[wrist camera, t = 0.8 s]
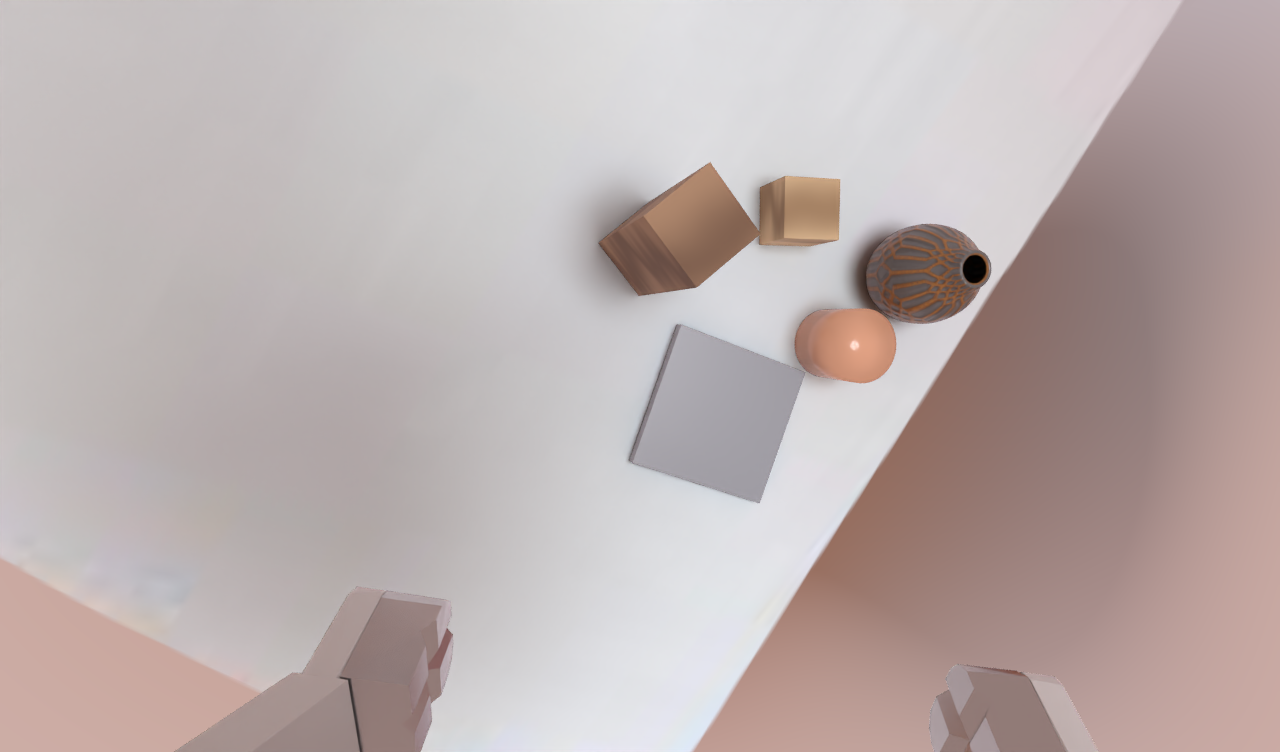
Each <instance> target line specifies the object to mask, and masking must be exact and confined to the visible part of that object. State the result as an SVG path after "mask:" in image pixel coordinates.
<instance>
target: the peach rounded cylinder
mask: <svg viewBox="0 0 1280 752" xmlns="http://www.w3.org/2000/svg"><path fill="white" fill-rule="evenodd" d="M795 352H796V356H797V358H798V360H799V362H800V364H801V365H802V367H803V368H804V369H805V370H806V371H808V372H809V373H811V374H813V375H815V376H819V377H825V378H831V379H837V380H843V381H849V382H856V383H868V382H871V381H874V380H876V379H878V378H879V377H881V376H882V375H883V374H884V373H885V372H886V371H887V370H888V369H889V367H890V365H891V364H892V362H893V359H894V356H895V352H896V337H895V333H894V330H893V327H892V325H891V324H890V322H889V321H888V320H887V318H886V317H885V316H883V315H882V314H881V313H879V312H877V311H875V310H872V309H826V310H819V311H816V312H814V313H812V314H810V315H809V316H807V317H806V318H805V319H804V320H803V322H802V323H801V324H800V326H799V328H798V330H797V333H796V337H795Z"/></svg>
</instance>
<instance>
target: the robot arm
mask: <svg viewBox="0 0 1280 752" xmlns="http://www.w3.org/2000/svg"><path fill="white" fill-rule="evenodd" d="M451 616H452V614H451V604H450V601H448V600H444V599H437V598H431V597H424V596H418V595H411V594H405V593H398V592H392V591H384V590H377V589H370V588H363V587H356V588H355V589H354V590H353V591H352V592H350V593H349V594H348V596H347V597H346V599H345V601H344V602H343V604H342V606H341V608H340V609H339V611H338V613H337V614H336V616H335V618H334V620H333V621H332V623H331V625H330V626H329V628H328V630H327V632H326V633H325V635H324V637H323V638H322V640H321V642H320V644H319V645H318V647H317V649H316V650H315V652H314V654H313V655H312V657H311V659H310V661H309V662H308V664H307V666H306V667H305V669H304V671H303V673H293V672H292V673H291V674H289V675H288V676H286V677H285V678H284V679H282V680H281V681H279V682H278V683H276V684H275V685H273V686H272V687H270V688H269V689H267V690H266V691H264V692H263V693H261V694H260V695H258V696H257V697H255V698H254V699H252V700H251V701H249V702H248V703H246V704H245V705H243V706H242V707H240V708H239V709H237V710H236V711H234V712H233V713H231V714H230V715H228V716H227V717H225V718H224V719H222V720H221V721H219V722H218V723H216V724H215V725H213V726H212V727H210V728H209V729H207V730H206V731H204V732H203V733H201V734H200V735H198V736H197V737H195V738H194V739H192V740H191V741H189V742H188V743H186V744H185V745H184V746H182V747H180V748H179V749H177V750H176V751H174V752H421V749H422V746H423V744H424V741H425V738H426V735H427V733H428V730H429V727H430V725H431V722H432V715H431V703H432V702H433V701H434V700H435V699H437V698H438V697H439V696H440V695H441V694H442V692H443V689H444V686H445V683H446V680H447V677H448V672H449V668H450V664H451V659H452V650H453V634H452V633H451V632H450V631H449V630H448V629H447V626H448V623H449V621H450V618H451ZM946 681H947V684H948V687H949V690H947V691H945V692H944V693H942V694H940V695H938V696H937V697H936V699H935V701H934V703H933V706H932V708H931V712H930V725H929V729H930V735H931V743H932V746H933V749H934V752H1099V751H1098V749H1097V747H1096V745H1095V743H1094V742H1093V740H1092V738H1091V736H1090V734H1089V732H1088V731H1087V729H1086V727H1085V725H1084V723H1083V721H1082V720H1081V718H1080V716H1079V714H1078V712H1077V711H1076V709H1075V707H1074V705H1073V703H1072V701H1071V699H1070V698H1069V696H1068V694H1067V692H1066V690H1065V689H1064V687H1063V685H1062V684H1061V682H1060V681H1059V680H1057V678H1056V677H1055V676H1049V675H1041V674H1033V673H1025V672H1018V671H1014V670H1005V669H996V668H988V667H979V666H970V665H961V664H957V665H955V666H954V667H952V668H951V669H950V671H949V673H948V675H947V677H946Z"/></svg>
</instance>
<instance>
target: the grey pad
mask: <svg viewBox="0 0 1280 752" xmlns="http://www.w3.org/2000/svg"><path fill="white" fill-rule="evenodd" d="M804 375H805V372H803V371H801V370H798V369H796V368H793V367H790V366H788V365H785V364H783V363H780V362H777V361H775V360H772V359H769V358H767V357H764V356H762V355H759V354H756V353H754V352H751V351H749V350H746V349H743V348H741V347H738V346H736V345H733V344H730V343H728V342H725V341H723V340H720V339H717V338H715V337H712V336H710V335H707V334H704V333H702V332H699V331H697V330H694V329H691V328H689V327H686V326H684V325H677V326H676V329H675V332H674V335H673V338H672V340H671V343H670V346H669V349H668V352H667V355H666V357H665V360H664V363H663V366H662V369H661V372H660V374H659V377H658V380H657V383H656V386H655V389H654V391H653V394H652V397H651V400H650V403H649V406H648V408H647V411H646V414H645V417H644V420H643V423H642V425H641V428H640V431H639V434H638V437H637V440H636V442H635V445H634V448H633V451H632V454H631V457H630V459H629V460H630V461H631V462H632V463H634V464H637V465H641V466H644V467H647V468H650V469H653V470H656V471H659V472H663V473H666V474H669V475H672V476H675V477H678V478H681V479H685V480H688V481H691V482H694V483H697V484H700V485H703V486H707V487H710V488H713V489H716V490H719V491H722V492H725V493H729V494H732V495H735V496H738V497H741V498H744V499H748V500H751V501H754V502H757V503H760V500H761V498H762V495H763V492H764V489H765V486H766V483H767V481H768V478H769V475H770V472H771V469H772V466H773V463H774V461H775V458H776V455H777V452H778V449H779V446H780V443H781V441H782V438H783V435H784V432H785V429H786V426H787V424H788V421H789V418H790V415H791V412H792V409H793V406H794V404H795V401H796V398H797V395H798V392H799V389H800V386H801V384H802V381H803V378H804Z"/></svg>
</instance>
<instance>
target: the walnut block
mask: <svg viewBox="0 0 1280 752" xmlns="http://www.w3.org/2000/svg"><path fill="white" fill-rule="evenodd" d="M759 235H760V232H759V231H758V230H757V228H756V227H755V225H754V224H753V222H752V221H751V220H750V218H749V217H748V215H747V214H746V212H745V211H744V210H743V208H742V207H741V205H740V204H739V203H738V201H737V200H736V198H735V197H734V195H733V194H732V193H731V191H730V190H729V188H728V187H727V185H726V184H725V183H724V181H723V180H722V178H721V177H720V176H719V174H718V173H717V171H716V170H715V168H714V167H713V166H712V164H711V163H708V164H707V165H705V166H704V167H702V168H701V169H699V170H698V171H696V172H694V173H693V174H691V175H690V176H688V177H687V178H685V179H684V180H682V181H681V182H679V183H678V184H676V185H675V186H673V187H671V188H670V189H668V190H667V191H665V192H664V193H662V194H661V195H659V196H658V197H656V198H655V199H653V200H652V201H650V202H649V203H647V204H646V205H645V206H644V207H642V208H641V209H640V210H639V211H637V212H636V213H635V214H634V215H632V216H631V217H630V218H629V219H627V220H626V221H625V222H624V223H622V224H621V225H620V226H619V227H617V228H616V229H615V230H614V231H612V232H611V233H610V234H609V235H608V236H606V237H605V238H604V239H603V240H601V241H600V242H599V245H600V246H601V247H602V248H603V250H604V251H605V252H606V254H607V255H608V256H609V258H610V259H611V260H612V261H613V263H614V264H615V265H616V267H617V268H618V269H619V270H620V272H621V273H622V274H623V276H624V277H625V278H626V280H627V281H628V282H629V283H630V285H631V286H632V287H633V289H634V290H635V291H636V293H637V294H638V295H639V296H642V295H649V294H655V293H662V292H669V291H676V290H683V289H689V288H696V287H698V286H699V285H700V284H701V283H703V282H704V281H705V280H706V279H707V278H709V277H710V276H711V275H712V274H713V273H715V272H716V271H717V270H718V269H719V268H720V267H722V266H723V265H724V264H725V263H726V262H728V261H729V260H730V259H731V258H732V257H734V256H735V255H736V254H737V253H738V252H740V251H741V250H742V249H743V248H744V247H745V246H747V245H748V244H749V243H750V242H751V241H753V240H754V239H755V238H756V237H757V236H759Z"/></svg>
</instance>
